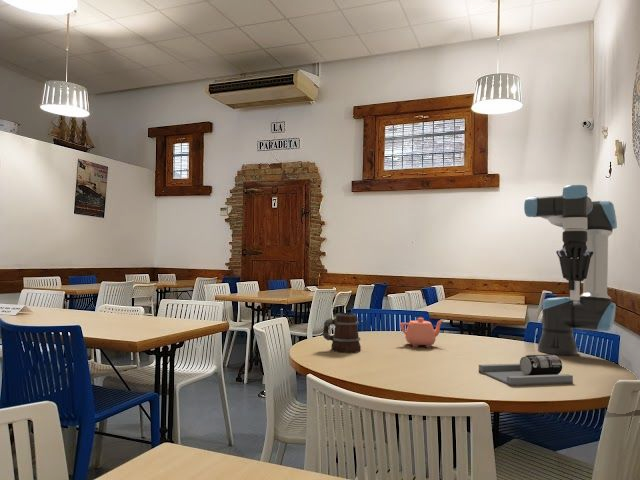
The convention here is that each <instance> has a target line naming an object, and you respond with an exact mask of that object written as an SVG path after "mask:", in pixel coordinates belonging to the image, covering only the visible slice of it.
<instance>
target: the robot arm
mask: <svg viewBox="0 0 640 480" xmlns="http://www.w3.org/2000/svg"><path fill="white" fill-rule="evenodd" d="M588 195H589V192H588V186H587V185H584V184H570V185H565V186H564V187H563V188H562V195H554V196H553V195H549V196H533V197H527V198H526V199H525V200H524V202H523V203H524V205H523V206H524V207H523V208H524V209H523V210H524V214H525V216H526V217H527V218H542V219H545V220H547V221H548V222H549V223H550V224H551V225H554V226H556V227H560V228H562V236H561V238H562V239H561V240H562V242H563V245H562V248H561V249H559V250H556V255H557V258H558V260H559V265H560V269H561V275H562V278H563V279H565V280H566V281H568V291H569V296H560V297H559V296H558V297H547V298H545V299H543V301H542V309H541V311H542V334H541V336H540V339H539V342H538V343H537V345H538V346H537V351H539V352H542V353H546V354H549V355H557V356H558V355H561V356H576V355H578V350H579V349H578V346H577V343H576V340H575V336H574V329H576V330H585V331H595V332H610V331H611V330H612V328H613V326H614V321H615V317H616V308H617V306H616V305H617V304H616V303H614V302H612V297H611V296H610V295H608V270H609V269H608V264H609V263H608V261H609V260H608V259H609V237H610V236H611V235H612V234H613V230H615V229H617V228H618V224H617V215H616V209H615V205H614V203H613V202H612V201H610V200H608V201H607V200H596V201H595V200H594V201H592V199H591V198H590V196H588ZM582 282H583V284H582ZM582 285H583V288H582ZM581 290H582V293H581V292H580V291H581Z"/></svg>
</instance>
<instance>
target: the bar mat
mask: <svg viewBox="0 0 640 480" xmlns="http://www.w3.org/2000/svg"><path fill="white" fill-rule="evenodd" d="M478 372H479V373H481V374H483V375H485V376H487V377H490V378H492V379H493V380H494V379H495V380H497V381H499V382H501V383H504V384H506V385H507V386H510V387H513V386H514V387H516V386H539V385H540V386H541V385H543V386H544V385H566V384H567V385H568V384H573V383H574V375H572V374H570V373H567V374H566V373H564V374H563V373H561V374H560V373H559V374H558V375H530V376H529V375H526V374H524V373H523V372H522V371H521V369H520V363H498V364H496V363H494V364H493V363H491V364H488V363H487V364H478Z"/></svg>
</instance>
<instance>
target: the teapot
mask: <svg viewBox="0 0 640 480" xmlns="http://www.w3.org/2000/svg"><path fill="white" fill-rule="evenodd" d="M416 319H417V320H410V321H409V322H401V323H399V329H400V330H401V331H402V333H403V334H404V335H405V340H406V342H407V343H408V344H409V345H410V346H411V345H412V348H419V346H425V348H432V345H434V344H435V342H436V338H437V337H438V336H439V335H440V331H441V330H440V329H441V326H442V325H441V324H442V323H443V322H444V321H445V319H441V320H438V321H437V323H436V327H435V329H434V326H433V324H432V322H431V321H428V320H425V319H424V317H417V318H416ZM405 326H407V328H406V329H405Z"/></svg>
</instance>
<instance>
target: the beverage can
mask: <svg viewBox="0 0 640 480" xmlns="http://www.w3.org/2000/svg"><path fill="white" fill-rule="evenodd" d="M519 364H520V369H521V371H522V372H523V373H524V374H526V375H529V376H530V375H559V374H560V373H561V372H562V369H563V362H562V360H561V358H560V357H559V356H558V355H557V354H527V355H525V356H522V357H521V358H520V360H519Z"/></svg>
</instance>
